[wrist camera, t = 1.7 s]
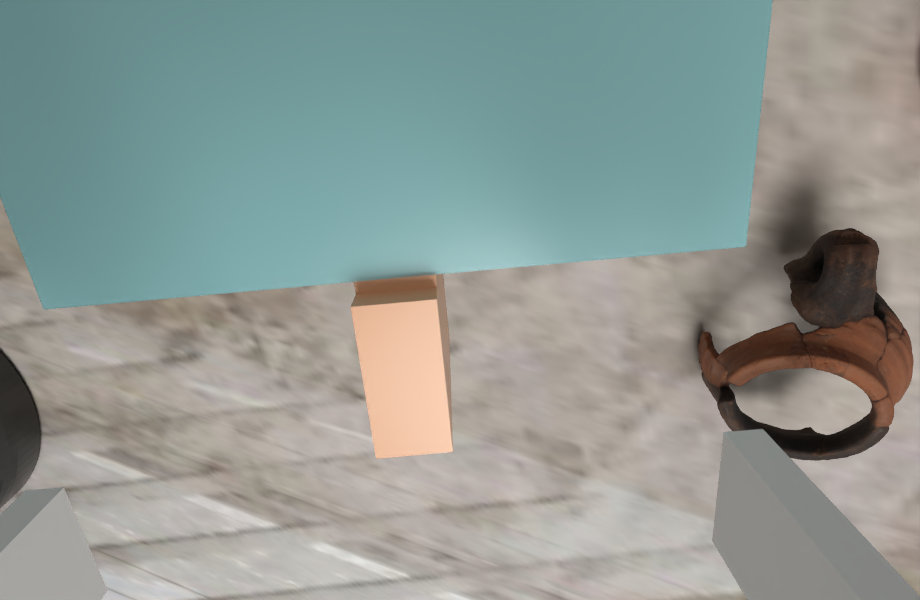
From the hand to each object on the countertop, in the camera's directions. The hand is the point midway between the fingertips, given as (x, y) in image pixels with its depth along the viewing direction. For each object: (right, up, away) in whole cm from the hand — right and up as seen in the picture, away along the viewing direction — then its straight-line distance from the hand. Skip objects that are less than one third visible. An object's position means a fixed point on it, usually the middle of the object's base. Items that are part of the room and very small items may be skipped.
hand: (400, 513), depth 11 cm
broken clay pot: (+19, +4, +20) cm, 27 cm away
